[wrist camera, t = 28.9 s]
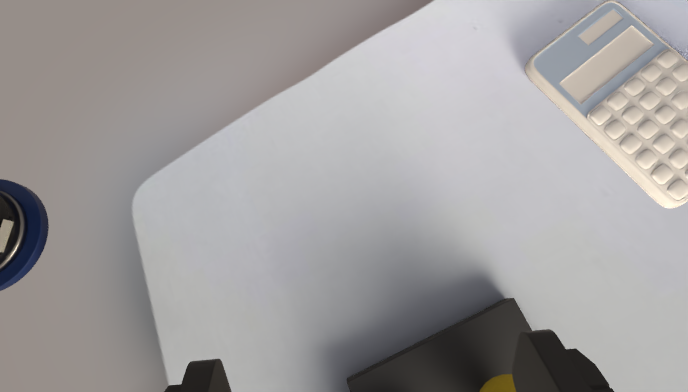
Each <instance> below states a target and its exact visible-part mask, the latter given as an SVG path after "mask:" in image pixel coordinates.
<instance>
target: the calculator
mask: <svg viewBox="0 0 688 392" xmlns="http://www.w3.org/2000/svg"><path fill="white" fill-rule="evenodd" d="M525 72H526V75H527V76H528V77H529V79H530V80H531V81H532V82H533V83H534V84H535V85H536V86H537V87H538V88H539V89H540V90H541V91H542V92H543V93H544V94H545V95H546V96H547V97H548V98H549V99H550V100H551V101H552V102H554V103H555V104H556V105H557V106H558V107H559V108H560V109H561V110H562V111H563V112H564V113H565V114H566V115H567V116H568V117H569V118H570V119H571V120H572V121H573V122H574V123H575V124H576V125H577V126H578V127H579V128H580V129H581V130H582V131H583V132H584V133H585V134H586V135H587V136H589V137H590V138H591V139H592V140H593V141H594V142H595V143H596V144H597V145H598V146H599V147H600V148H601V149H602V150H603V151H604V152H605V153H606V154H607V155H608V156H609V157H610V158H611V159H612V160H613V161H614V162H615V163H616V164H617V165H618V166H619V167H620V168H621V169H622V170H624V171H625V172H626V173H627V174H628V175H629V176H630V177H631V178H632V179H633V180H634V181H635V182H636V183H637V184H638V185H639V186H640V187H641V188H642V189H643V190H644V191H645V192H646V193H647V194H648V195H649V196H650V197H651V198H653V199H654V200H655V201H656V202H657V203H658V204H660V205H661V206H663V207H666V208H675V207H678V206H680V205H682V204H684V203H685V202H686V201H688V61H687V60H686V59H685V58H684V57H683V56H681V55H680V54H679V53H678V52H677V51H676V50H674V49H673V48H672V47H671V46H670V45H669V44H668V43H666V42H665V41H664V40H663V39H662V38H661V37H659V36H658V35H657V34H656V33H655V32H654V31H652V30H651V29H650V28H649V27H648V26H647V25H645V24H644V23H643V22H642V21H641V20H640V19H639V18H637V17H636V16H635V15H634V14H633V13H632V12H630V11H629V10H628V9H627V8H626V7H624V6H623V5H622V4H620V3H619V2H617V1H615V0H607V1H604V2H603V3H601V4H600V5H598V6H597V7H596V8H594V9H593V10H592V11H590V12H589V13H588V14H586V15H585V16H584V17H583V18H581V19H580V20H579V21H577V22H576V23H575V24H573V25H572V26H571V27H570V28H568V29H567V30H566V31H564V32H563V33H562V34H560V35H559V36H558V37H557V38H555V39H554V40H553V41H551V42H550V43H549V44H547V45H546V46H545V47H544V48H542V49H541V50H540V51H538V52H537V53H536V54H535V55H534V56H533V57H531V58H530V59H529V61H528V62H527V63H526V66H525Z"/></svg>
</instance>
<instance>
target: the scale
mask: <svg viewBox="0 0 688 392" xmlns="http://www.w3.org/2000/svg"><path fill="white" fill-rule="evenodd" d="M525 331H532V330H531V328H530V326H529V324H528V322H527V321H526V319H525V317H524V315H523V314H522V312H521V310H520V308H519V306H518V305H517V303H516V301H515V299H514V298H507V299H504V300H502V301H500V302H498V303H496V304H494V305H492V306H490V307H488V308H486V309H484V310H482V311H480V312H478V313H476V314H474V315H472V316H470V317H468V318H466V319H464V320H462V321H460V322H458V323H456V324H454V325H452V326H450V327H448V328H446V329H444V330H442V331H440V332H438V333H436V334H434V335H432V336H430V337H428V338H426V339H424V340H422V341H420V342H418V343H416V344H414V345H412V346H410V347H409V348H407V349H405V350H403V351H401V352H399V353H397V354H395V355H393V356H391V357H389V358H387V359H385V360H383V361H381V362H379V363H377V364H375V365H373V366H371V367H369V368H367V369H365V370H363V371H361V372H359V373H357V374H355V375H353V376H351V377H349V378H347V384H348V386H349V389H350V391H351V392H480V389H481V388H482V387H483V386H484V384H485V383H486V382H488V381H489V380H490V379H492V378H493V377H496V376H499V375H503V374H512V366H513V361H514V357H515V352H516V347H517V342H518V338H519V334H520V333H521V332H525Z"/></svg>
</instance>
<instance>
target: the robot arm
mask: <svg viewBox="0 0 688 392" xmlns="http://www.w3.org/2000/svg"><path fill="white" fill-rule="evenodd" d="M27 231H28V220H27V215H26V212H25V210H24V208H23V206H22V205H21V203H20V202H19V201H18V200H17V199H16V198H15V197H13V196H12V195H10V194H8V193H5V192H3V191H0V272H1V271H3V270H4V269H5V268H7V267H8V266H9V265H10V264H11V263H12V262H13V261H14V260H15V258H16V257H17V256H18V254H19V253H20V251H21V249H22V247H23V245H24V243H25V240H26V236H27ZM512 377H513V382H514V386H515V389H516V392H614V391H613V389H612V388H611V389H610V387H609V384H608V382H607V381H606V379H605V378H604V377H603V375H602V374H601V372H600V371H599V369H598V368H597V366H596V365H595V364H594V363H593V362H591V361H590V360H589V359H588V358H587V357H585V356H584V355H583V354H582V353H581V352H579V351H578V350H577V349H565V347H564V346H563V344H562V343H561V341H560V340H559V338H558V337H557V335H556V334H555V333H554V332H553V331H552V330H550V329H547V330H536V331H525V332H521V333H520V334H519V338H518V342H517V347H516V352H515V357H514V361H513V366H512ZM165 392H231V389H230V386H229V383H228V380H227V376H226V373H225V370H224V367H223V364H222V361H221V360H220V359H212V360H201V361H192V362H190V363H189V364H188V366H187V369H186V372H185V375H184V378H183V381H182V384H181V385H170V386H168V387H167V389H166V390H165Z"/></svg>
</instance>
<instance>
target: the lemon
mask: <svg viewBox="0 0 688 392" xmlns="http://www.w3.org/2000/svg"><path fill="white" fill-rule="evenodd" d="M480 392H516V389H515V386H514V382H513V377H512V374H503V375H499V376H496V377H493V378H492V379H490V380H489V381H488V382H486V383H485V384H484V386H483V387H482V388H481V389H480Z"/></svg>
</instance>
